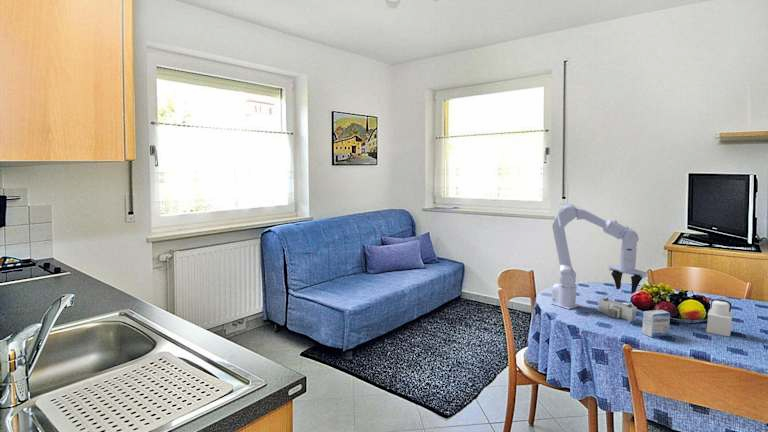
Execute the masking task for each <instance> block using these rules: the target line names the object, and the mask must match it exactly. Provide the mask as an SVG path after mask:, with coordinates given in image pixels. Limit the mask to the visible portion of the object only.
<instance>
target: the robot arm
mask: <svg viewBox="0 0 768 432" xmlns="http://www.w3.org/2000/svg"><path fill="white" fill-rule="evenodd" d="M575 219H576V220H577V221H578V220H585V221H588V222H589V223H591V224H593V225H596V226H598V227H600V228H602V230H603V233H605V234H606V235H609V236H611V237H613V238H614V239H617V240H621V246H620V256H619V266H618V265H609V266H608V271H609V272H610V271H611V277H612V278H613V281H614V284H615V289H616V290H620V289H621V287H622V277H623V274H626V275H631V276H630V278H631V279H630V280H631V288H630V291H631V294H635V293H636V291H637V288H638V286H639V285H640V282H641V281H642V279H643V278H647V275H648V274H647V273H648V272H647V271H642V270H640V269H636V266H637V265H636V264H637V263H636V262H637V251H638V248H637V247H638V245H637V243H638V242H639V241H640V239H639V235H638V233H637V232H636V231H635V230H634V229H633V228H630V227H629V226H627V225H626V226H625V225H623V224H621V223H619V222H618V220H616V219H614V220H612V219H609V220H605V219H603V218H601V217H599V216H597V215H596V214H594V213H591V212H590V211H588V210H586V209H584V208H582V207H579V206H575V205H573V204H570V203H567V204H565V205H563V206H562V207H561V208H560V209H559V210H558V212H557V215H556V217H555V219H554V221H553V223H552V225H551V226H552V231H553V238H554V242H555V247H556V253H557V258H558V263H559V268H560V269H559V271H560V277H559V282H556V283H554V284H553V286H552V288H551V290H552V291H551V292H552V293H551V301H550V305H555V306H557V307H561V308H564V309H568V310H571V309H575V308H578V307H580V304H578V303H576V301H577V300H576V299H577V284H576V282H577V280H576V278H577V273H576V272H575V270H574V269H573V265H572V261H571V256H570V252H569V247H568V241H567V236H566V230H565V227H566V226H567V225H568V224H569V223H570V222H572V221H574V220H575Z"/></svg>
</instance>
